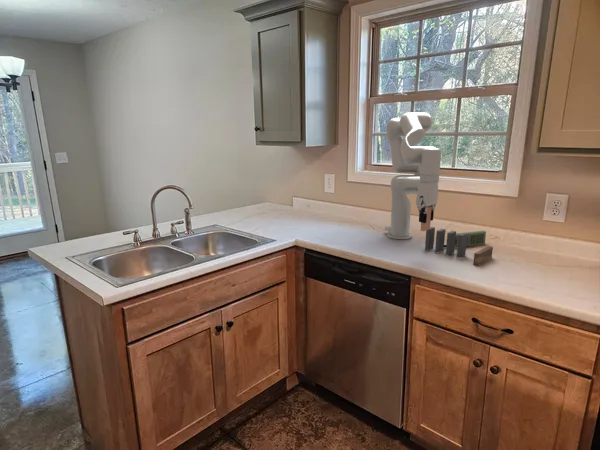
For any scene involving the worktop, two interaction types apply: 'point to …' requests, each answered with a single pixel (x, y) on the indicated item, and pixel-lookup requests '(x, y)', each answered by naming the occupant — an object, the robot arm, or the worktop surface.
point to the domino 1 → (427, 225)
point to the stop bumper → (482, 255)
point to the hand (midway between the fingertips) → (425, 220)
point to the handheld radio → (472, 238)
